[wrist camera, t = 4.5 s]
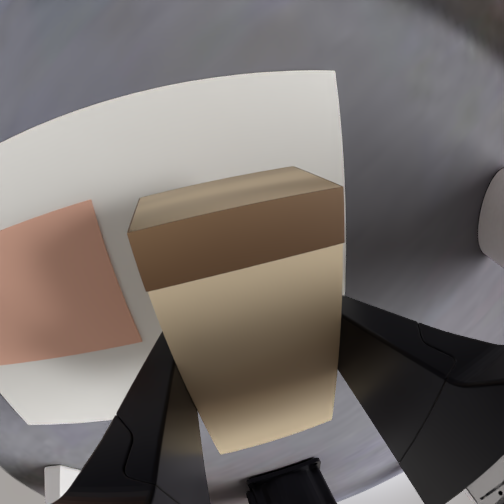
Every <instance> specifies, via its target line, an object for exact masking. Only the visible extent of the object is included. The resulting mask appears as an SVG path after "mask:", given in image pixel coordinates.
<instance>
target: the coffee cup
mask: <svg viewBox="0 0 504 504" xmlns="http://www.w3.org/2000/svg"><path fill="white" fill-rule="evenodd" d="M478 241H479V246H480V249H481V251H482V252H483V253H484V254H485V255H487V256H488V257H489V258H491V259H492V260H493V261H495V262H496V263H497V264H499V265H500V266H501V267H503V268H504V168H503V169H501V170H500V171H498V172H497V174H496V175H495V176H494V178H493V179H492V181H491V183H490V185H489V187H488V189H487V191H486V194H485V197H484V200H483V203H482V207H481V212H480V217H479V225H478Z"/></svg>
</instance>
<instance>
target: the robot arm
mask: <svg viewBox="0 0 504 504" xmlns="http://www.w3.org/2000/svg"><path fill="white" fill-rule="evenodd" d="M337 369H338V370H339V372H340V373H341V375H342V376H343V378H344V379H345V381H346V382H347V384H348V385H349V387H350V389H351V390H352V392H353V393H354V395H355V396H356V398H357V399H358V401H359V402H360V404H361V405H362V407H363V409H364V410H365V412H366V413H367V415H368V416H369V418H370V419H371V421H372V422H373V424H374V425H375V427H376V429H377V430H378V432H379V433H380V435H381V436H382V438H383V439H384V441H385V442H386V444H387V446H388V447H389V449H390V450H391V452H392V453H393V455H394V456H395V458H396V460H397V461H398V462H400V463H399V465H400V466H401V468H402V469H403V471H404V472H405V474H406V475H407V477H408V478H409V480H410V482H411V483H412V485H413V486H414V488H415V489H416V491H417V492H418V494H419V496H420V497H421V499H422V500H423V502H424V504H445V503H447V502H448V501H450V500H451V499H452V498H453V497H455V496H456V495H458V494H459V493H460V492H462V491H463V490H464V489H467V491H468V492H469V493H470V495H471V496H472V497H473V499H474V500H475V502H476V503H477V504H504V345H497V344H492V343H488V342H484V341H480V340H476V339H472V338H468V337H464V336H460V335H456V334H453V333H449V332H446V331H442V330H439V329H436V328H433V327H430V326H427V325H425V324H422V323H417V322H416V321H413V320H410V319H408V318H405V317H402V316H399V315H396V314H394V313H391V312H388V311H385V310H382V309H380V308H377V307H374V306H371V305H369V304H366V303H363V302H360V301H358V300H355V299H352V298H349V297H347V296H344V295H342V310H341V328H340V344H339V357H338V368H337ZM320 464H321V462H320V460H319V458H314V459H311V460H309V461H306V462H303V463H300V464H297V465H295V466H292V467H289V468H285V469H282V470H279V471H276V472H273V473H269V474H266V475H262V476H259V477H255V478H251V479H249V480H247V484H248V486H249V488H250V491H247V493H246V495H247V498H248V501H249V504H337V503H336V501H335V499H334V497H333V495H332V493H331V491H330V489H329V487H328V485H327V483H326V481H325V479H324V477H323V475H322V473H321V471H320ZM51 504H210V499H209V493H208V487H207V480H206V474H205V467H204V460H203V453H202V445H201V437H200V429H199V421H198V412H197V408H196V406H195V404H194V402H193V400H192V398H191V396H190V394H189V392H188V389H187V387H186V385H185V383H184V381H183V379H182V376H181V374H180V372H179V370H178V367H177V365H176V363H175V360H174V358H173V356H172V353H171V351H170V348H169V346H168V344H167V341H166V339H165V336H164V334H163V331H162V332H161V334H160V336H159V337H158V339H157V341H156V343H155V344H154V346H153V348H152V350H151V351H150V353H149V355H148V357H147V358H146V360H145V362H144V364H143V365H142V367H141V369H140V371H139V373H138V374H137V376H136V378H135V380H134V382H133V383H132V385H131V387H130V389H129V391H128V392H127V394H126V396H125V398H124V400H123V402H122V403H121V405H120V407H119V409H118V411H117V413H116V415H115V416H114V418H113V420H112V422H111V424H110V425H109V427H108V429H107V431H106V432H105V434H104V436H103V438H102V440H101V441H100V443H99V444H98V446H97V447H96V449H95V450H94V452H93V454H92V455H91V457H90V458H89V459H88V461H87V462H86V464H85V465H84V467H83V468H82V470H81V471H80V473H79V474H78V476H77V477H76V479H75V480H74V482H73V483H72V484H71V486H70V487H69V489H68V490H67V491H66V492H65V493H64V495H63V496H61V497H60V498H59V499H58V500H56V501H55V502H53V503H51Z"/></svg>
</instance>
